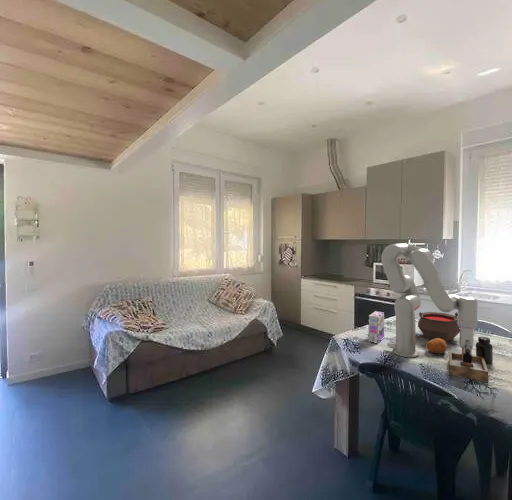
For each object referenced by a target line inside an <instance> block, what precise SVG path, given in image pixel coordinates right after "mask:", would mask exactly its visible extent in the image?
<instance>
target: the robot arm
mask: <svg viewBox="0 0 512 500" xmlns="http://www.w3.org/2000/svg"><path fill="white" fill-rule="evenodd" d="M380 259H381V264H382V266H383V269H384V272H385V276H386V278H387V281H388V284H389V287H390V289H391V291H392V292H393V293H394V294H400V296H399V297H397V299H395V302H394V312H395V342H394V343H391V342H387V344H386V347H388V348H389V349H391V348H392V352H394V353H393V354H395V353H396V354H397V355H396V354H395V355H396V356H399V355H400V356H399V357H402V356H403V357H404V358H410V357H412V358H417V357H419V354H420V353H419V351H418V350H417V349H416V316H415V311H416V310H417V309H419V308H420V307H421V304H422V302H421V300H422V299H421V297H420V295H419V291H418V288H417V286H416V284H415V281H414V279H413V278H412V277H411V276H409V275H407V274H404V271H403V269H402V267H401V264H400V263H399V259H400V260H401V259H405V260H407V261H410V263H411V265H412V266H413V267H414V269H415V270H416V271H417V273H418V274H419V276H420V278H421V279H422V281H423V283H424V287H425V289H426V291H427V295H429V297H430V299H431V301H432V302H433V304H434V306H436V308H437V309H438V310H439V311H441V313H451V312H453V311H455V310H457V313H458V316H457V317H458V321H457V324H458V326H459V329H460V332H459V341H458V343H459V347H460V349H462V348H464V353H463V362H466V363H472V356H473V355H472V354H471V350H472V351H473V349H474V340H475V337H474V335H475V333H474V332H475V329H478V300H477V298H475V297H471V296H460V295H456V294H451V293H447V291H446V289H445V288H444V286H443V283H442V274H441V272H440V271H439V269H438V267H437V266H436V265H435V263H434V262H433V260H432V259H433V254H432V252H431V251H430V250H429V249H427V248H423V247H421V246H416V245H412V244H409V243H404V242H403V243H400V242H399V243H392V244H390V245H388V246H386V247H385V248H384V249H383V251H382V252H381V257H380ZM465 349H466V350H465ZM403 357H402V358H403Z"/></svg>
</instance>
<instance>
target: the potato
mask: <svg viewBox="0 0 512 500" xmlns="http://www.w3.org/2000/svg"><path fill="white" fill-rule="evenodd" d="M425 347H426V349H427V350H428V351H429V352H431V353H434V354H443V353H445V352H446V351H447V348H448V344H447V342H445V341H444V340H443V339H440V338H435V339H432V340H430V339H429V341H428V342H426V343H425Z"/></svg>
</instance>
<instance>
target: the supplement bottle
mask: <svg viewBox="0 0 512 500" xmlns="http://www.w3.org/2000/svg"><path fill="white" fill-rule="evenodd" d="M477 339H478V340H477V342H476V343H475V356H479V357H483V358H484V360H485V363H486V365H492V364H493V362H494V358H493V357H494V353H493V352H494V347H493V345H492V344H491V339H490V338H489V337H487V336H478V337H477Z"/></svg>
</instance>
